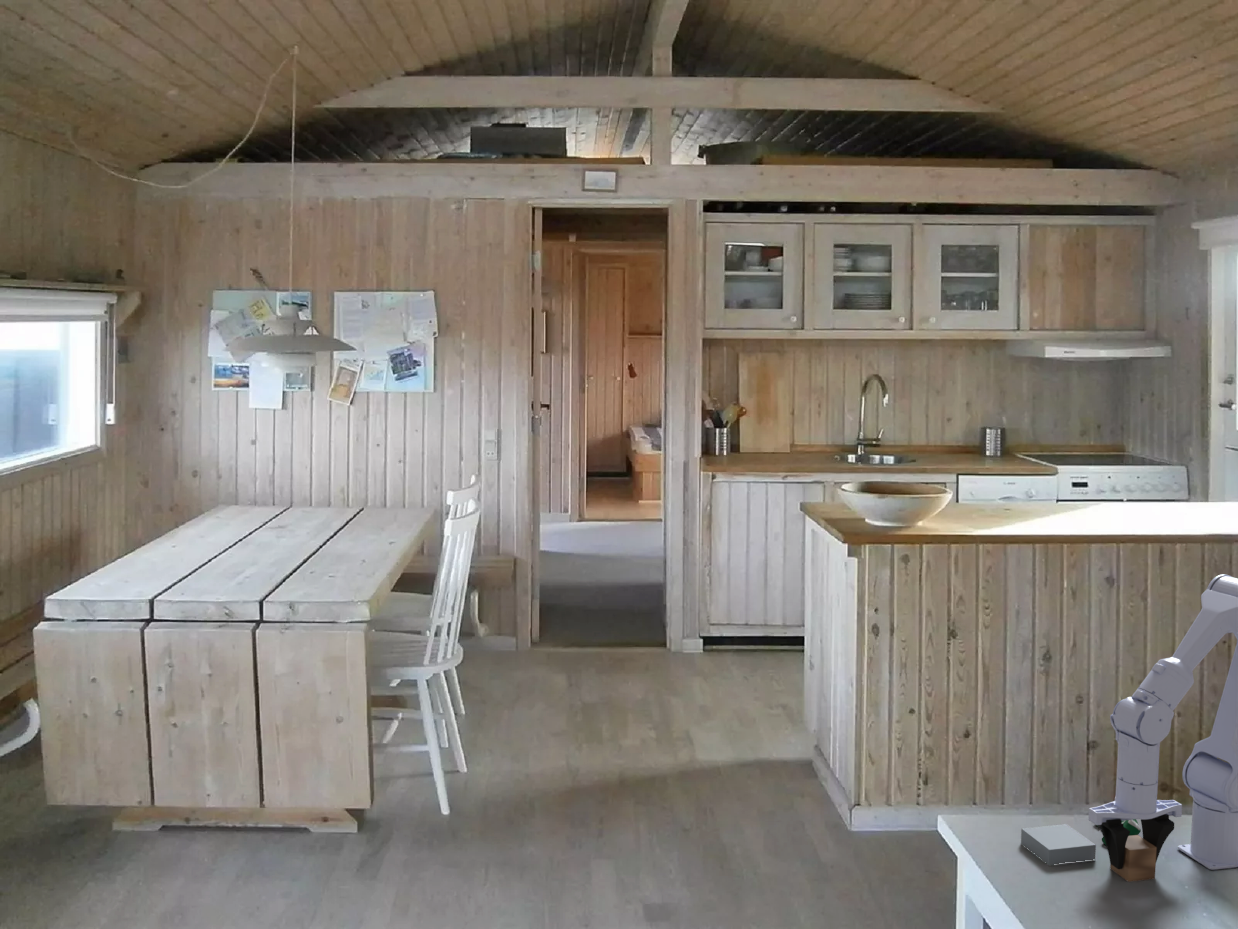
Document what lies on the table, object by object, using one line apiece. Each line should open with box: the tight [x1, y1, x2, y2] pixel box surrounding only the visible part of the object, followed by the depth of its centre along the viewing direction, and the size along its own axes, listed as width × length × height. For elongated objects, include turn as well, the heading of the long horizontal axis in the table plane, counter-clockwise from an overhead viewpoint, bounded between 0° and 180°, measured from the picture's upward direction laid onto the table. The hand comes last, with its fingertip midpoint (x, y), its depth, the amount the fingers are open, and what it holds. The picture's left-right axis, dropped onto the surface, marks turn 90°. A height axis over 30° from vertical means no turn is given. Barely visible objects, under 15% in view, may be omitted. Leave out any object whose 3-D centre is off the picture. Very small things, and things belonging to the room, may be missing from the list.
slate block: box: [1020, 823, 1097, 866], centre depth 190 cm, size 8×8×3 cm
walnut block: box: [1109, 834, 1157, 883], centre depth 182 cm, size 4×4×5 cm
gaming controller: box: [1096, 819, 1142, 846], centre depth 196 cm, size 9×4×6 cm
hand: (1132, 864), depth 182 cm, fingers open, 5 cm apart
